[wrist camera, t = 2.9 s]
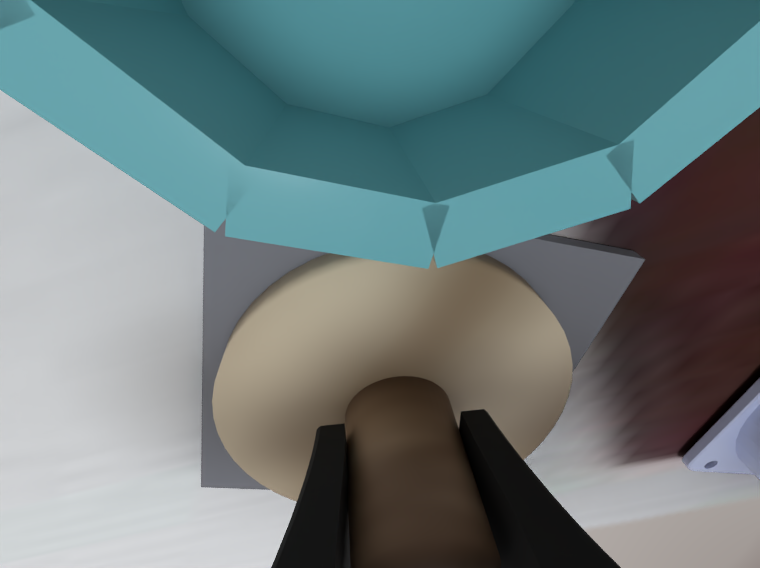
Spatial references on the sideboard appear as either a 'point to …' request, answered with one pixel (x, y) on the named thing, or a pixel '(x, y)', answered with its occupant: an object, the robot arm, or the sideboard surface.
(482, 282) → the lid
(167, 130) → the bowl
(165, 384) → the sideboard surface
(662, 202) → the sideboard surface
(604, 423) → the sideboard surface
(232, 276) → the mat
